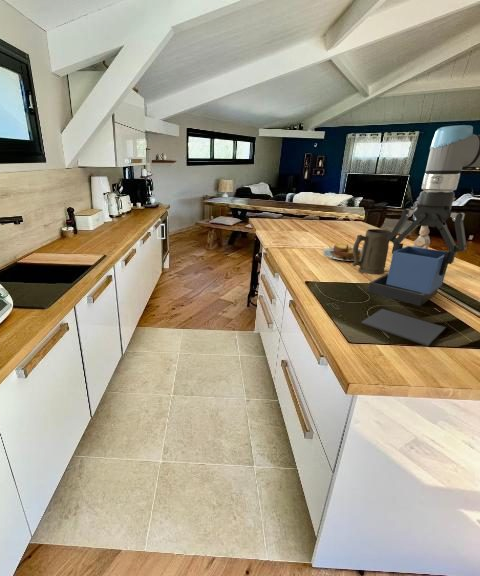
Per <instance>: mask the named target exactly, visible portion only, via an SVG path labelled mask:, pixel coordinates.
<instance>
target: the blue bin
mask: <svg viewBox="0 0 480 576" xmlns="http://www.w3.org/2000/svg"><path fill="white" fill-rule="evenodd" d="M445 252H446V251H444V250H438V249H430V248H428V249H425V248H418V247H413V245H412V246H410V245H406V246H403V248H401V249H399V250H396V251H394V252H393V254H392V256H391V261H390V264H389V268H388V269H389V270H388V272H387V274H388V278H387V282H386V284H388V285H392V286H396V287H400V288H404V289H409V290H413V291H417V292H421V293H425V294H431V293H432V292H433V291H435V290H436V289H438V290H439V288H440V287H442V286H443V283H444V279H445V277H446V272H447V271H446V272H445V274H444V275H442V276H441V275H439V273H440V269H441V266H442V262H443V259H444V255H445ZM448 266H449V264H448V265H447V267H448Z"/></svg>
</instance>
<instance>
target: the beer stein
mask: <svg viewBox="0 0 480 576" xmlns="http://www.w3.org/2000/svg"><path fill="white" fill-rule="evenodd" d="M391 232H392V231H391V230H388V229H382V228H371V229H367V230H366V232H365V235H362V234H357V235H356V239H355V242H354V244H353V246H352V247H353V255H354V259H355V261H353V263H352V266H353V267H356V266H359V267H358V269H357V271H358V272H359V274H367V275H368V274H369V275H383V274H385V268H386V263H387V258H388V253H389V248H390V247H389V245H390V241H388V240H387V239H388V237H389V235H390V234H391ZM362 241H364V242H363V244H362V248H361V249H362V253H361V257H360V260H359V258H358V248H360V243H361V242H362Z"/></svg>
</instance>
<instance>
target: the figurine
mask: <svg viewBox="0 0 480 576" xmlns="http://www.w3.org/2000/svg"><path fill="white" fill-rule="evenodd" d="M429 228H430V227H429V226H421V225H420V229H419V236H418V237H417V238H416V239H414V241H413V245H412V247H418V248H425V249H429V248H430V244H431V239H430V235H429V234H430V229H429Z"/></svg>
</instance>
